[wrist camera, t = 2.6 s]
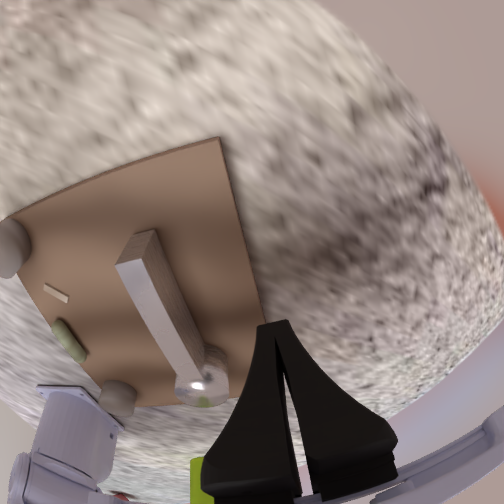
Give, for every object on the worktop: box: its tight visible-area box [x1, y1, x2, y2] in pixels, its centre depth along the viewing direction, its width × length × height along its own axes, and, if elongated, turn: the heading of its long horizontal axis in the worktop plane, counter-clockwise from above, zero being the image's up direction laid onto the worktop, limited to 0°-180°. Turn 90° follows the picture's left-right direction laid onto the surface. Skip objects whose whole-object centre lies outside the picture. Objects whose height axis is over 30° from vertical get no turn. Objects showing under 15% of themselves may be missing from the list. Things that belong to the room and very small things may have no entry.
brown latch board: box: [0, 137, 266, 417], centre depth 18 cm, size 20×16×4 cm
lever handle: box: [115, 229, 229, 407], centre depth 16 cm, size 12×4×3 cm, turn 12°
